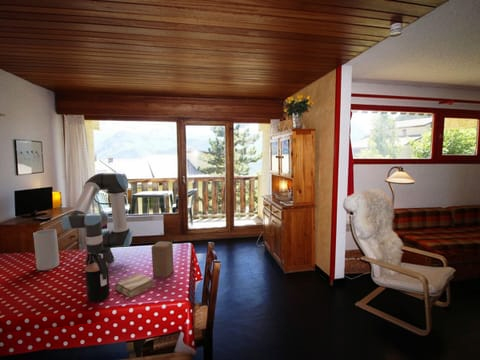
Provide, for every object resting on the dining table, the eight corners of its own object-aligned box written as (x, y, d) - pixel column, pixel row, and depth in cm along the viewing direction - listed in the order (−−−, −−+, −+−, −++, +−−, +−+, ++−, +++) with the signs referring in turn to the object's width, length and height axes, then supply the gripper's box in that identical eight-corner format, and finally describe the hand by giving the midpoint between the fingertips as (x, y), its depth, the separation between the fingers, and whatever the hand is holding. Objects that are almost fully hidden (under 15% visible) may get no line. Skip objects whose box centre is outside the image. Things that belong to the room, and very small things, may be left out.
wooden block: (167, 278, 156) (165, 247, 154) (152, 276, 158) (150, 246, 156) (174, 270, 166) (173, 241, 164) (160, 269, 168) (158, 240, 166)
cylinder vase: (32, 269, 172) (28, 233, 169) (52, 261, 183) (48, 228, 181) (44, 272, 167) (40, 235, 164) (63, 264, 179) (60, 230, 176)
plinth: (115, 289, 144) (115, 282, 144) (139, 278, 156) (138, 272, 156) (130, 297, 136) (130, 290, 135) (154, 285, 148) (153, 279, 147)
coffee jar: (93, 292, 141) (91, 261, 139) (113, 291, 142) (111, 261, 140) (83, 304, 131) (80, 270, 129) (104, 302, 131) (102, 269, 130)
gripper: (76, 240, 137) (79, 278, 139) (99, 249, 123) (102, 291, 125) (91, 237, 143) (93, 272, 145) (114, 245, 129) (116, 285, 131)
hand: (97, 281), depth 135 cm, fingers open, 13 cm apart
